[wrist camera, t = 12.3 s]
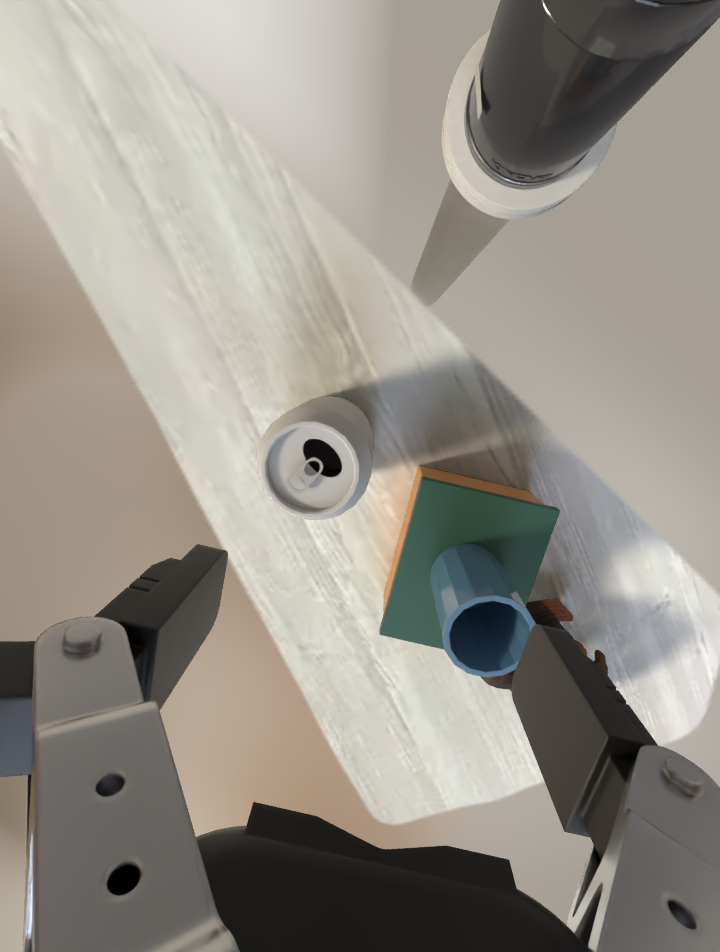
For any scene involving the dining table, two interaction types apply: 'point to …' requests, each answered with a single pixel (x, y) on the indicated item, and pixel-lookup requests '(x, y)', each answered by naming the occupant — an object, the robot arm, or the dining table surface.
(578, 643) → the brown jagged ring
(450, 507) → the container
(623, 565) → the dining table surface
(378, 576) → the dining table surface
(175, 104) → the dining table surface
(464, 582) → the cup
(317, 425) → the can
